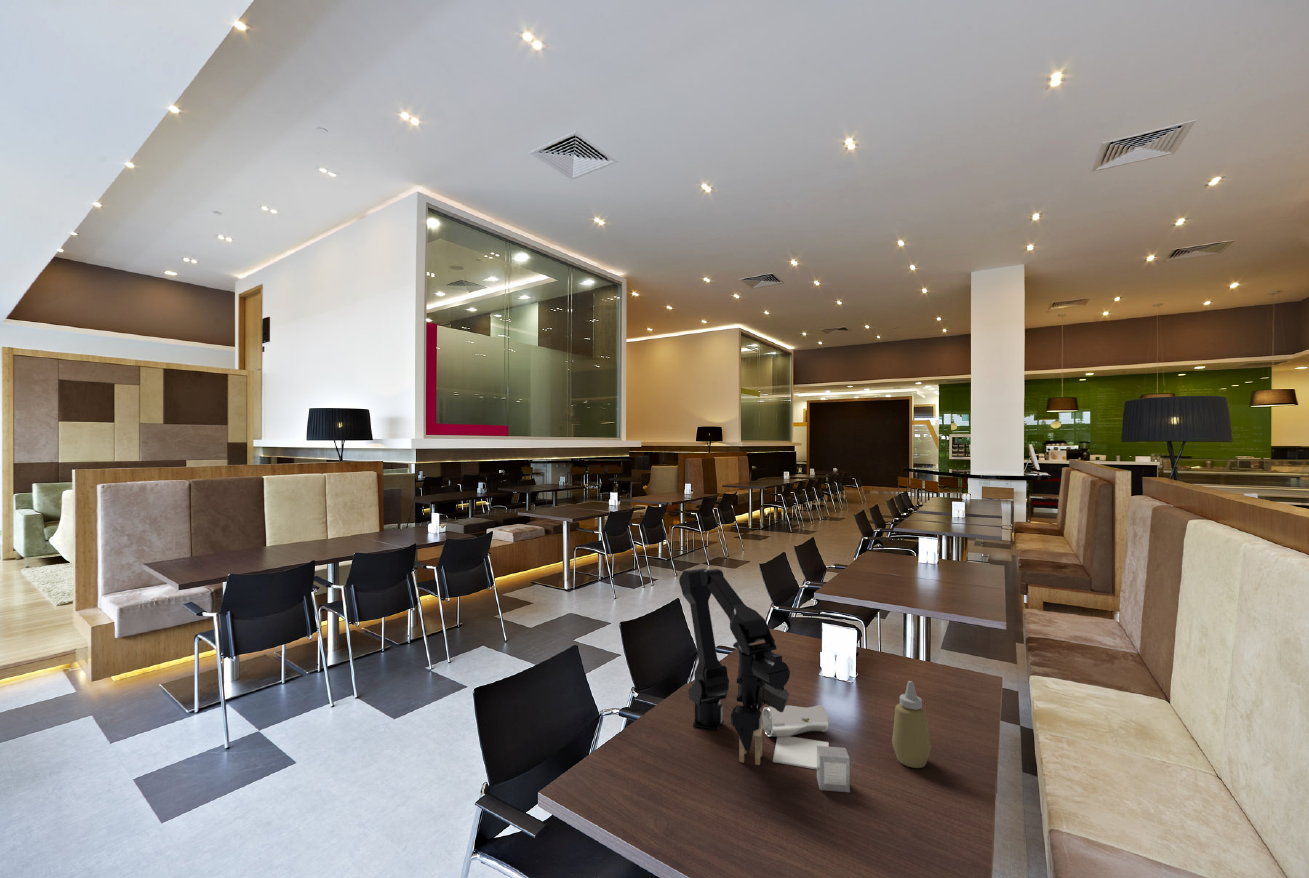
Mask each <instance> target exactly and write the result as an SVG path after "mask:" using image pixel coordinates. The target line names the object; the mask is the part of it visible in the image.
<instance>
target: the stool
mask: <svg viewBox="0 0 1309 878" xmlns="http://www.w3.org/2000/svg"><path fill="white" fill-rule="evenodd" d="M763 729H764V728H763V720H762V718H761V725H760V728H759V729H758V730H755V731H754V733H753V737H754V765H755V766H760V765H761V758H762V757H763ZM738 739H739V740H738V742H739V743H738V744H739V747H738V748H739V749H738V751H739V752H738V757H739V758H738V761H739V763H745V755H747V752H748V751H746V750H745V749H744V746H743V744H742V742H741V740H740V737H739V736H738Z"/></svg>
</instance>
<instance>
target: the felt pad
mask: <svg viewBox="0 0 1309 878" xmlns="http://www.w3.org/2000/svg"><path fill="white" fill-rule="evenodd" d="M817 746H826V747H830V746H829V742H828V741H821V740H816V739H810V738H809V739H808V738H803V737H796V736H786V737H776V743H775V747H774V753H773V758H772V762H773V763H777V764H783V765H789V766H795V767H800V768H807V769H812V770H817Z"/></svg>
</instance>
